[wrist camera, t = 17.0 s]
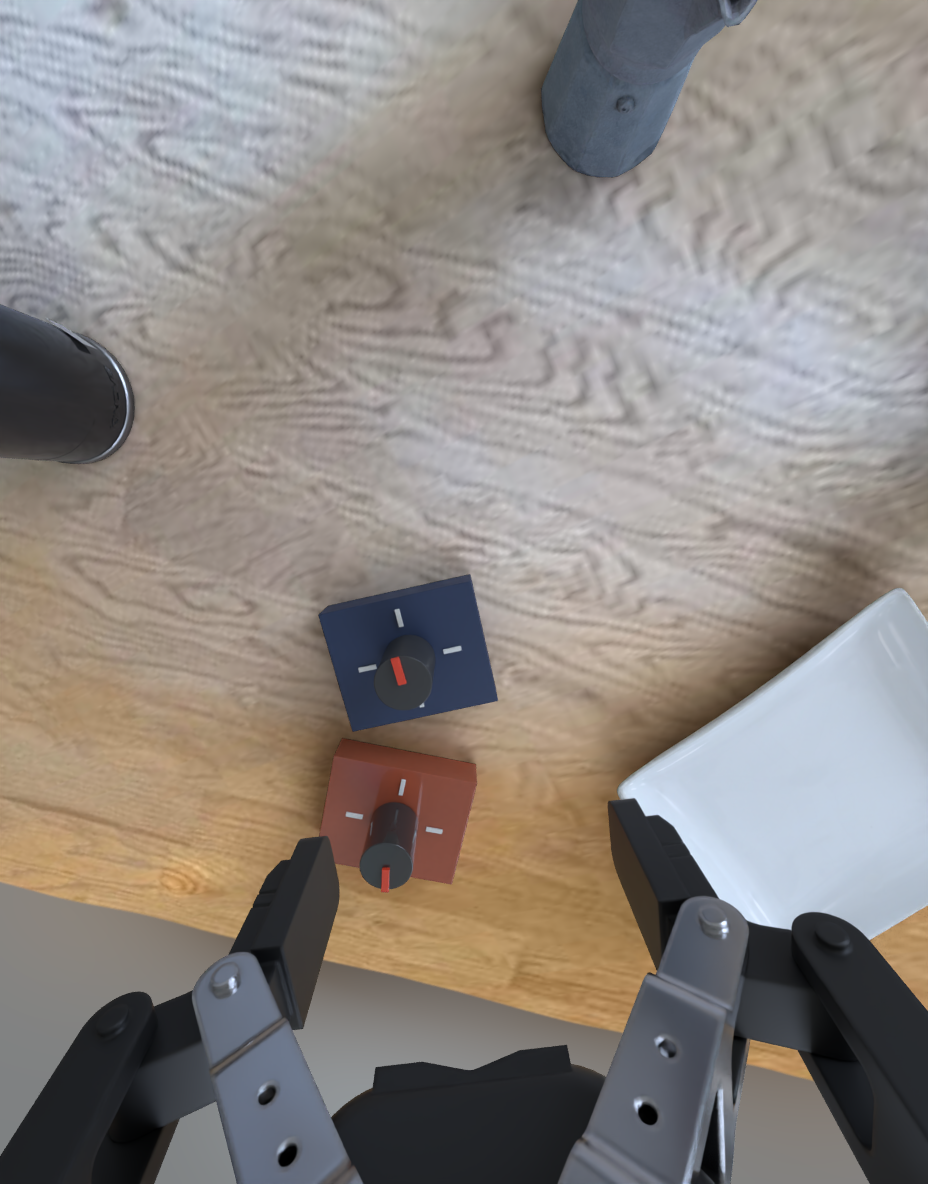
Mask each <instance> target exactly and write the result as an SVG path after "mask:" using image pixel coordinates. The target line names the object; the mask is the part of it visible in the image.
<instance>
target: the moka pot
mask: <svg viewBox="0 0 928 1184" xmlns="http://www.w3.org/2000/svg"><path fill="white" fill-rule="evenodd" d="M756 2H757V0H578V2H577V4H576V7H575V9H574V11H573V14H572V16H571V19H570V21H569V23H568V26H567V28H566V30H565V33H564V35H563V37H562V40H561V42H560V44H559V47H558V49H557V52H556V54H555V57H554V59H553V61H552V64H551V66H550V69H549V71H548V74H547V76H546V78H545V81H544V83H543V86H542V89H541V93H542V109H543V114H544V122H545V131H546V133H547V136H548V139H549V140H550V142H551V144H552V146H553V148H554V149H555V151H556V152H557V153H558V154H559V155H560V156H561V158H562V159H563V161H565V162H566V163H567V165H568V166H570V167H571V168H572V169H573V170H575V171H577V172H580V173H583V174H586V175H589V176H595V177H615V176H618V175H621V174H623V173H625V172H626V171H628V170H630V169H632V168H633V167H635V166H636V165H638V164H639V163H640V162H641V161H643V160H644V159H645V158H647V157H648V156H649V155H650V154H652V152H653V150H654V149H655V147H656V145H657V143H658V141H659V139H660V137H661V135H662V133H663V131H664V128H665V126H666V124H667V121H668V119H669V117H670V115H671V113H672V111H673V108H674V106H675V103H676V101H677V99H678V96H679V94H680V91H681V89H682V87H683V84H684V82H685V79H686V77H687V74H688V72H689V70H690V67H691V65H692V62H693V60H694V57H695V56H696V54H697V53H698V51H699V50H700V48H701V47H702V45H703V44H705V43H706V42H707V41H709V40H710V39H711V38H713V37H714V36H715V35H717V34H718V33H719V32H720V31H721V30H722V29H723V28H724V26H725V25H726V26H727V27H729V26H734V25H739V24H740V23H741V22H742V21H743V20H744V19H745V18H746V16H747V15H748V14H749V12H750V11H751V9H752V8H753V7H754V5H755V4H756Z"/></svg>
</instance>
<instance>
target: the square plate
mask: <svg viewBox="0 0 928 1184" xmlns="http://www.w3.org/2000/svg"><path fill="white" fill-rule="evenodd" d="M617 793H618V796H619V798H620V799H621V800H622V799H630V798H635V799H636V800H637V802H638V803H639V805H640V807H641V809H642V811H643V812H644V814H645V816H652V815H659V816H661V817H662V818H663V819H665V820H666V821H667V822H669V823H670V824H671V825H673V826H674V828H675V829H676V831H677V832H678V834H679V835H680V837H681V839H682V840H683V843H685V845H686V847H687V848H688V850H689V851H690V854H691V855H692V856H693V858H694V859H695V861H696V862H697V864H698V866H699V867H700V869H701V870H702V872H703V874H704V875H705V877H706V878H707V880H708V881H709V883H710V885H711V886H712V888H713V889H714V891H715V893H716V894H717V896H718V897H719V899H721V900H723V901H725V902H727V903H729V904H731V905H732V906H734V907H735V908H736V909H737V910H738V911H739V912H740V913H741V914H742V915H743V916H744V918H745V919H746V920H747V921H750V922H752V923H756V924H759V925H764V926H770V927H776V928H783V929H789V930H791V927H792V923H793V921H794V919H795V918H796V917H797V916H799V915H800V914H803V913H807V912H821V913H826V914H830V915H833V916H836V917H839V918H841V919H843V920H845V921H847V922H849V923H850V924H852V925H853V926H855V927H856V928H857V929H859V930H860V931H861V932H862V933H863V934H864V935H865V936H866V937H867V938H868V939H869V940H870V939H872V938H874V937H875V936H877V935H879V934H881V933H882V932H884V931H886V930H887V929H889V928H891V927H892V926H894V925H896V924H897V923H899V922H901V921H902V920H904V919H906V918H907V917H909V916H911V915H912V914H914V913H916V912H917V911H919V910H921V909H922V908H924V907H926V906H927V905H928V622H927V621H926V619H925V618H924V616H923V615H922V613H921V611H920V610H919V608H918V607H917V606H916V604H915V603H914V601H913V600H912V599H911V597H910V596H909V595H908V593H907V592H906V591H905V590H904V589H902V588H896V589H893V590H891V591H889V592H888V593H886V594H884V595H882V596H881V597H880V598H878V599H877V600H875V601H874V602H873V603H871V604H870V605H868V606H867V607H866V608H864V609H863V610H862V611H861V612H859V613H858V614H857V615H856V616H854V617H853V618H851V619H850V620H849V621H847V622H846V623H845V624H843V625H842V626H840V627H839V628H838V629H837V630H835V631H834V632H833V633H831V634H830V635H829V636H827V637H826V638H825V639H823V640H822V641H821V642H819V643H818V644H817V645H816V646H814V647H813V648H812V649H811V650H809V651H808V652H807V653H805V654H804V655H803V656H802V657H800V658H799V659H798V660H796V661H795V662H794V663H792V664H791V665H790V666H788V667H787V668H786V669H784V670H783V671H782V672H780V673H779V674H778V675H776V676H775V677H774V678H772V679H771V680H769V681H768V682H767V683H765V684H764V685H763V686H761V687H760V688H758V689H757V690H756V691H754V692H753V693H751V694H750V695H749V696H747V697H746V698H744V699H743V700H742V701H740V702H739V703H737V704H736V705H734V706H733V707H732V708H730V709H729V710H727V711H726V712H724V713H723V714H722V715H720V716H719V717H717V718H716V719H714V720H713V721H711V722H710V723H708V724H706V725H705V726H703V727H702V728H700V729H699V730H697V731H696V732H694V733H693V734H691V735H689V736H688V737H686V738H685V739H683V740H682V741H680V742H679V743H677V744H676V745H674V746H672V747H671V748H669V749H668V750H666V751H664V752H663V753H661V754H660V755H658V756H657V757H655V758H654V759H653V760H651V761H650V762H648V763H647V764H646V765H644V766H643V767H641V768H640V769H639V770H637V771H636V772H634V773H633V774H631V775H630V776H629V777H628V778H626V779H625V780H624V781H623V782H622V783H621V784H620V785H619V786H618V789H617Z"/></svg>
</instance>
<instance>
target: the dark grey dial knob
mask: <svg viewBox="0 0 928 1184" xmlns="http://www.w3.org/2000/svg"><path fill="white" fill-rule="evenodd" d="M417 831H418V818H417V816H416V814H415V812H414V811H413V810H412V809H411V808H410V807H409V806H407V805H405V804H403V803H399V802H389V803H385V804H383V805H381V806H380V807H378V808H377V809H376V810H375V811H374V813H373V814H372V817H371V820H370V824H369V828H368V832H367V836H366V839H365V843H364V847H363V851H362V855H361V859H360V864H359V867H360V872H361V874H362V876H363V878H364V879H365V880H366V881H367V882H368V883H369V884H370V885H372V886H374V887H377V888H380V889H381V892H389V889H394V888H397V887H399V886H401V885H403V884H404V883H405V882H407V880H408V879H409V878H410V876H411V874H412V871H413V865H414V856H415V848H416V840H417Z"/></svg>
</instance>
